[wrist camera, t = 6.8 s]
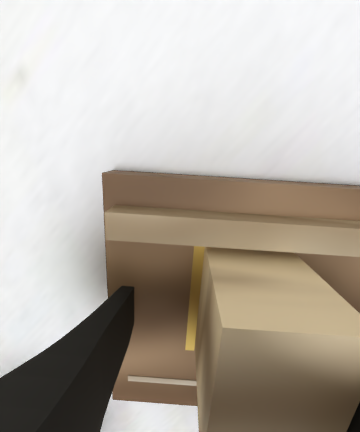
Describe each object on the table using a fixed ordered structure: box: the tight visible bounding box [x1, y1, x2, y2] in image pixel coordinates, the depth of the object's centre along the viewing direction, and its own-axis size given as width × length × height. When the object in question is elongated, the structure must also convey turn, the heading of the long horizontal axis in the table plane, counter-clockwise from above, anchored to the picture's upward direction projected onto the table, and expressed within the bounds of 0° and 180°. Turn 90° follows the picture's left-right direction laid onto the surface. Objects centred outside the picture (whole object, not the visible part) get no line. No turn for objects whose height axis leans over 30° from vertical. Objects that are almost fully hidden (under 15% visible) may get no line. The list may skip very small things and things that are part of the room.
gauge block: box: [195, 247, 360, 432], centre depth 9 cm, size 10×4×5 cm, turn 177°
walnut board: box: [102, 170, 360, 406], centre depth 11 cm, size 14×22×3 cm, turn 87°
